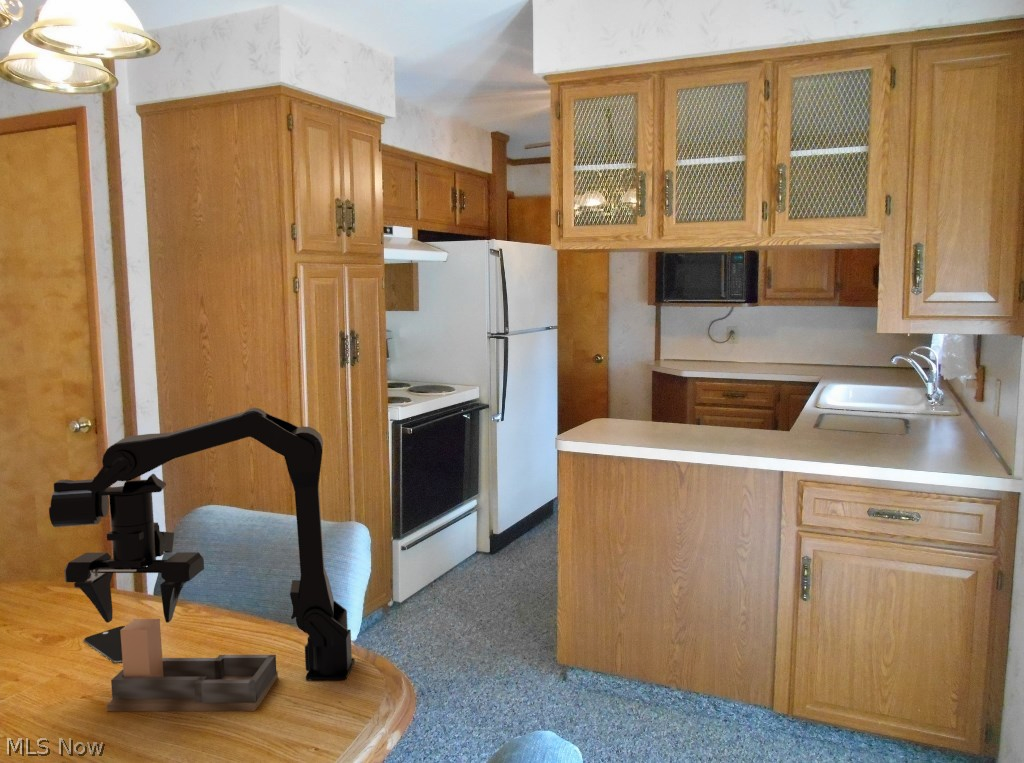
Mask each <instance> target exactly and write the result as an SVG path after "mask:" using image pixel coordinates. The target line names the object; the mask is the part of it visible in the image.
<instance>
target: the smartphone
mask: <svg viewBox="0 0 1024 763" xmlns="http://www.w3.org/2000/svg"><path fill="white" fill-rule="evenodd" d="M125 626H126V625H120V626H117V627H114V628H110V629H107V630H105V631H102V632H98V633H95V634H91V635H90V636H86V637H85V638H84V639H83V641H84V642H85V643H84V642H83V643H84V644H86V643H87V644H88V645H87V644H86V645H87V646H89V647H90V648H91V647H92V650H94V649H95V650H94V651H95V652H97V651H98V652H99V653H98V652H97V653H98V654H100V653H101V654H102V655H101V654H100V655H101V656H102V657H104V656H105V657H107V658H108V659H109V660H108V659H107V658H106V659H107V660H108V661H110V660H111V661H112V663H113V664H115V663H119V664H123V660H122V646H121V632H120V630H121V629H122V628H124V627H125ZM105 657H104V658H105ZM111 661H110V662H111Z"/></svg>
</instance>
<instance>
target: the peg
mask: <svg viewBox="0 0 1024 763" xmlns="http://www.w3.org/2000/svg"><path fill="white" fill-rule="evenodd" d="M124 626H125V627H124V628H122V629H121V630H120V632H121V646H122V660H123V663H122V670H123V673H124V677H164V675H163V660H162V658H163V650H162V649H163V648H162V632H161V630H162V629H161V619H160V618H134V619H132V620H131V621H130V622H129V623H127V624H126V625H124Z"/></svg>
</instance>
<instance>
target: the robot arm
mask: <svg viewBox="0 0 1024 763" xmlns="http://www.w3.org/2000/svg"><path fill="white" fill-rule="evenodd" d="M245 438H246V439H247V438H251V439H254V440H256V441H258V442H259V443H261V444H262V445H264V446H266V447H267V448H268V449H270V450H272V451H273V452H275V453H277V454H279V455H281V456H283V457H284V461H285V465H286V468H287V472H288V475H289V478H290V481H291V484H292V487H293V490H294V499H295V500H294V501H295V511H296V512H295V513H296V527H297V528H296V529H297V541H298V543H297V544H298V555H299V569H300V571H299V572H300V579H298V580H297V579H296V580H295V579H292V580H291V584H290V585H291V586H290V590H289V591H290V592H289V597H290V602H291V604H292V610H291V615H290V616H291V620H294V619H295V622H296V625H297V627H298V629H299V630H301V631H302V632H303V633H305V634H307V635H308V636H307V643H306V644H305V645H304V658H305V659H304V662H305V670H306V672H307V673H306V675H305V680H307V681H311V680H312V681H317V680H318V681H321V680H323V681H327V680H328V681H333V680H334V681H335V680H336V681H344V680H346V679H347V678H348V676H349V674H350V673H351V670H352V668H353V666H354V664H355V660H356V659H355V658H354V657H353V656H352V655H353V654H352V652H353V651H352V634H351V633H352V632H351V631H352V630H351V629H349V628H348V611H347V609H346V608H345V607H343V606H342V605H341V604H340V603H338V602H337V601H336V600H334V595H333V591H332V587H331V584H330V580H329V576H328V574H327V570H326V569H325V568H326V567H325V561H324V560H325V559H324V547H323V546H324V545H323V531H322V517H321V502H320V501H321V500H320V487H319V483H320V476H321V467H322V460H323V459H322V458H323V448H324V440H323V436H322V434H321V433H320V432H319V431H318V430H317V429H315V428H313V427H311V426H300V427H299V426H297V425H295V424H294V423H291V422H290V421H287V420H284V419H281V418H280V417H276V416H274V415H271V414H269V413H268V412H265V411H264V410H263V409H261V408H258V407H251V408H247V409H246V410H244V411H242V412H239V413H236V414H232V415H229V416H225V417H221V418H217V419H214V420H211V421H207V422H204V423H201V424H200V423H199V424H196V425H193V426H189V427H186V428H183V429H179V430H175V431H173V432H165V433H163V432H162V433H146V434H145V433H144V434H138V435H130V436H126V437H124V438H121V439H120V440H118V441H117V442H115V443H114V444H112V445H110V446H109V447H108V448H106V450H105V452H104V454H103V455H102V459H101V460H102V467H101V469H100V470H99V472H98V473H97V475H95V476H94V477H93V479H77V480H74V479H73V480H71V479H59V480H57V481H55V482H54V483H53V492H52V495H51V500H50V506H49V507H48V516H49V520H50V524H51V525H52V526H53V528H61V527H65V528H66V527H77V526H81V527H82V526H90V525H91V526H92V525H93V526H94V525H99V524H100V522H101V521H102V518H105V517H107V516H108V514H110V529H111V531H109V532H107V533H106V541H112V543H111V544H112V554H113V555H112V556H111V554H109V553H108V552H84V553H83V554H81V555H79V556H77V557H76V558H74V559H72V560H70V561H68V563H67V564H66V566H65V569H64V571H63V572H64V581H65V583H73V587H74V588H76V589H80V590H81V592H82V593H83V594H84V595H85V597H87V598H88V599H89V601H90V602H91V603H92V604H93V605H94V606H93V607H95V609H96V610H97V611H98V613H99V614H100V616H101V617H102V618H103V620H104V621H105V623H107V624H109V623H110V622H111V621H113V600H112V588H111V582H112V578H113V574H160V576H161V578H162V579H163V582H161V584H160V587H159V588H160V594H161V603H162V609H163V616H164V617H163V618H164V621H165V623H170V622H171V621H172V620H173V617H174V613H175V610H176V607H177V604H178V601H179V597H180V594H181V592H182V589H183V588H184V585H185V584H186V583H187V582H190V581H191V580H192V579H194V578H195V577H196V576H197V575H198V574H200V573H201V572H202V571H203V570H205V561H204V560H205V558H204V557H203V556H202V554H201V553H200V552H197V551H196V552H195V551H194V552H192V551H191V552H189V551H188V552H187V551H185V552H184V551H183V552H181V551H179V552H176V553H174V554H173V555H172V556H170V557H169V558H167V559H157V558H158V557H162V556H164V554H165V553H167V554H168V553H170V554H171V553H173V551H174V550H173V548H174V540H175V532H172V531H171V532H170V531H161V530H160V524H159V522H155V521H154V520H155V519H154V505H153V504H154V503H153V494H154V493H160V492H162V491H163V490H164V489H165V488H166V487H167V483H166V482H165V481H163V480H162V479H160V478H159V477H158V476H157V475H156V474H155V473H152V474H150V475H149V476H148V478H146V479H138V480H137V479H136V478H138V477H140V476H143V475H145V474H147V473H149V472H151V471H152V470H155V469H156V468H159V467H160V466H163V465H164V464H166V463H168V462H171V461H173V460H175V459H177V458H181V457H185V456H188V455H192V454H195V453H199V452H202V451H204V450H209V449H212V448H215V447H218V446H222V445H226V444H228V443H232V442H236V441H239V440H240V441H241V440H242V439H245ZM118 481H119V482H124V484H123V485H122V486H113V485H114V484H116V483H117V482H118ZM109 511H110V512H109Z"/></svg>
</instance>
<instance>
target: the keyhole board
mask: <svg viewBox="0 0 1024 763" xmlns="http://www.w3.org/2000/svg"><path fill="white" fill-rule="evenodd" d="M276 655H277V654H219V655H218V656H217V657H162V660H163V675H164V677H124V673H123V669H121V670H120V671H119V672H118V673H117V674H116V675H115V676H114V677H113V678H112V679H111V680H110V683H111V685H110V686H111V697H112V698H111V700H110V701H109V702H107V704H106V707H107V708H106V709H107V710H106V711H107V712H247V711H248V712H253V711H254V712H256V710H257V709H258V707H259V706H260V705H261V703H262V701H263V700H264V698H265V697H266V696H267V694H268V693H269V692H270V690H271V688H272V687H273V686H274V684H275V682H276V681H277V679H278V678H279V674H278V670H277V658H276Z"/></svg>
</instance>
